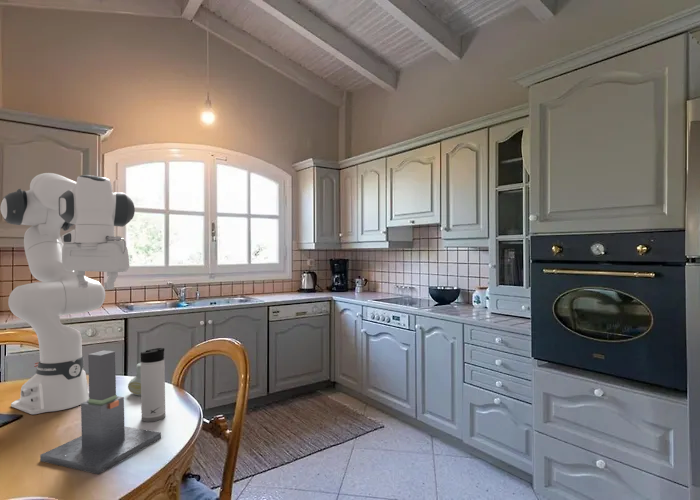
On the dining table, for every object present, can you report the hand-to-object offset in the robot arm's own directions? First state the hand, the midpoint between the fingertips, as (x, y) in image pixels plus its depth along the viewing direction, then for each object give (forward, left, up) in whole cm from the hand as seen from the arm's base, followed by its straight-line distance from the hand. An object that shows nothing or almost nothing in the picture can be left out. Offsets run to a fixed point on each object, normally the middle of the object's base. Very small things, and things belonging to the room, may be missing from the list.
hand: (95, 288), depth 113 cm
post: (+10, -7, -31) cm, 33 cm away
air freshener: (-12, +28, -39) cm, 49 cm away
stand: (+10, -7, -38) cm, 40 cm away
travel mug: (+7, +12, -39) cm, 41 cm away
